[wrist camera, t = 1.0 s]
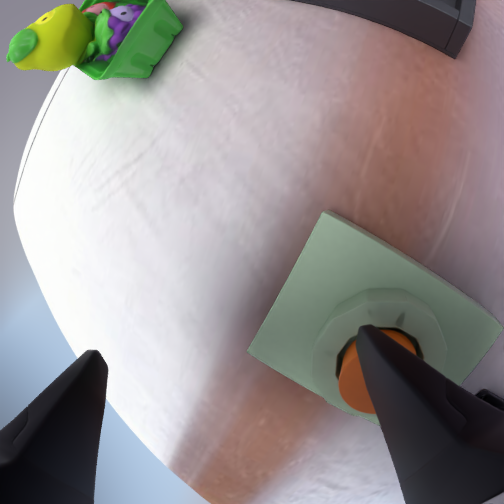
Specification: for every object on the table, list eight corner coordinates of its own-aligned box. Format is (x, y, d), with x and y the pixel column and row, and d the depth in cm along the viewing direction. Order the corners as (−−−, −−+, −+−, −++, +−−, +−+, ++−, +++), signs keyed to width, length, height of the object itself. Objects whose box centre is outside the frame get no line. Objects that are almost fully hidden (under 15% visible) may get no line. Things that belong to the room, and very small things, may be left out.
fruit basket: (205, 17, 15) (94, -57, 5) (140, 111, 18) (7, 86, 8) (133, 1, 17) (48, -37, 7) (86, 72, 20) (-6, 54, 10)
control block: (491, 312, 12) (517, 342, 8) (404, 416, 15) (406, 457, 11) (328, 209, 15) (316, 212, 11) (259, 336, 18) (232, 368, 14)
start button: (430, 350, 10) (437, 370, 9) (385, 401, 12) (384, 424, 10) (371, 315, 11) (371, 332, 10) (328, 371, 12) (322, 393, 11)
